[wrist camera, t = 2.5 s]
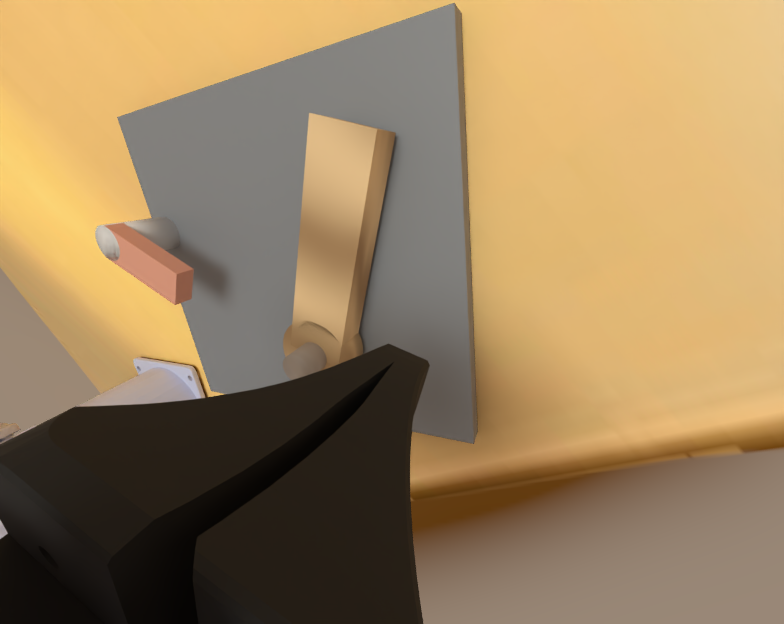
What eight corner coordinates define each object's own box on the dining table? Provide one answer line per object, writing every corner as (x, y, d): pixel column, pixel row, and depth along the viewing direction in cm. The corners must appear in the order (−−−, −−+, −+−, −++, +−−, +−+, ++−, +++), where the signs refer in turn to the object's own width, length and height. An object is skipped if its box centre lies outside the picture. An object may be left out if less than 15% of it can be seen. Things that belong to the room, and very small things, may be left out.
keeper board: (477, 431, 19) (456, 498, 16) (221, 384, 28) (167, 419, 24) (461, 13, 13) (418, -51, 9) (134, 119, 21) (40, 109, 18)
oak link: (356, 383, 20) (325, 417, 17) (300, 356, 21) (262, 384, 18) (406, 135, 14) (370, 128, 11) (323, 115, 15) (272, 104, 12)
